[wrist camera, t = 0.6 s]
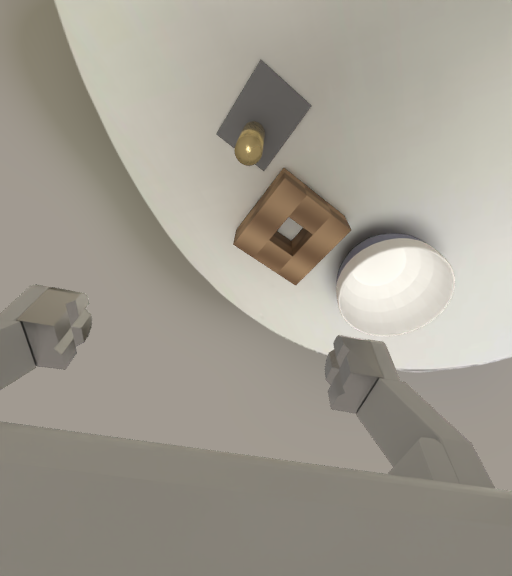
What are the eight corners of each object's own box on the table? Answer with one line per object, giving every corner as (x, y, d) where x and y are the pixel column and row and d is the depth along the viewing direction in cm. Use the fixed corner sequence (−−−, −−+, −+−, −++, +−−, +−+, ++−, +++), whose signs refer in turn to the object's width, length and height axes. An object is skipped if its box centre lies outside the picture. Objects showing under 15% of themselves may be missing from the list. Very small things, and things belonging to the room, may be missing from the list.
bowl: (330, 221, 49) (340, 251, 41) (437, 212, 47) (470, 242, 40) (327, 302, 58) (336, 339, 50) (418, 296, 56) (441, 334, 49)
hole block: (283, 167, 44) (284, 178, 40) (344, 216, 48) (351, 230, 44) (236, 229, 50) (233, 244, 46) (294, 268, 54) (295, 285, 50)
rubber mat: (260, 59, 37) (260, 59, 37) (311, 105, 40) (311, 105, 40) (216, 133, 42) (216, 134, 42) (264, 170, 45) (263, 171, 45)
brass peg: (250, 116, 41) (245, 129, 33) (269, 131, 42) (268, 147, 33) (237, 136, 42) (229, 154, 34) (255, 150, 43) (251, 171, 35)
